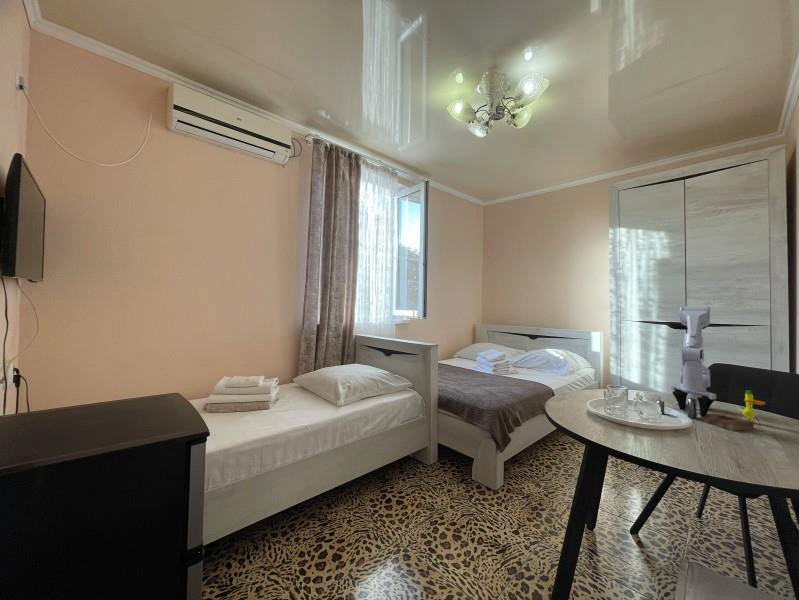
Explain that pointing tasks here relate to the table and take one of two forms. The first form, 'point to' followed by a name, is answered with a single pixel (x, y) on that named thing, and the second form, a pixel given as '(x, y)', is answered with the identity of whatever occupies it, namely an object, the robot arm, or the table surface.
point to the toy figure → (750, 406)
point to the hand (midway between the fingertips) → (692, 412)
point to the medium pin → (661, 405)
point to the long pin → (692, 408)
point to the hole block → (727, 421)
